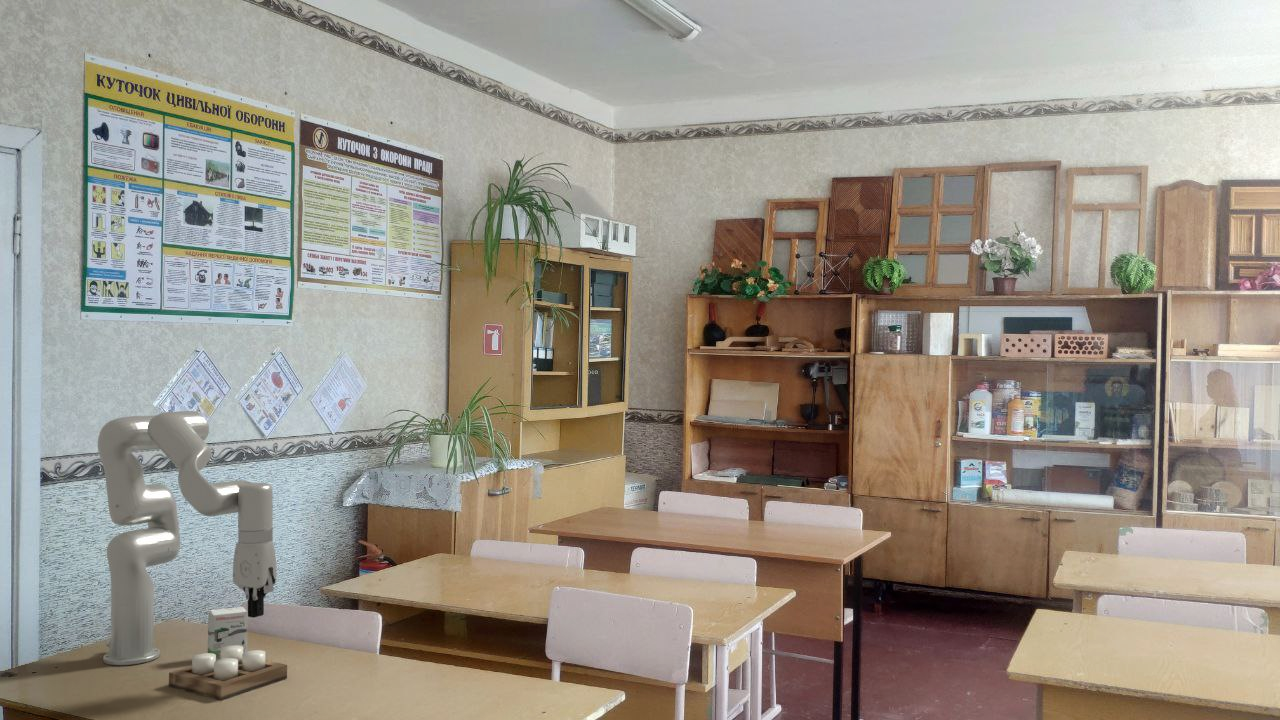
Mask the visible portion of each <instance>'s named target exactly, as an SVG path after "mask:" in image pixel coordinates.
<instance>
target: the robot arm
mask: <svg viewBox="0 0 1280 720" xmlns="http://www.w3.org/2000/svg"><path fill="white" fill-rule="evenodd" d="M209 434H210V425H209V422H208V420H207V419H206V418H205V415H203V414H202V413H199V412H197V411H194V410H181V411H178V410H177V411H166V412H161V413H158V414H156V415H153V414H152V415H138V416H137V415H135V416H134V415H133V416H123V417H118V418H115V419H112V420H110V421H108V422H106V423H105V424H104V425H103V426H102V428H101V429H100V431H99V434H98V438H97V451H98V454H99V458H100V461H101V463H102V467H103V471H104V477H105V486H106V487H105V488H106V496H107V504H108V510H109V511H108V512H109V516H110V520H111V521H112V522H113V523H114V524H115V525H117V526H125V527H126V526H135V525H140V524H147V525H148V527H147V528H139V529H134V530H133V529H132V530H129V531H124V532H121V533H118V534H117V535H115V536H114V537H112V539H111V540H110V541H109V542H108V544H107V548H106V558H107V564H108V567H109V574H110V639H109V640H106V641H105V642H104V643H105V644H104V645H105V647H108V649H109V651H108V652H107V653H106V654H104V655H103V658H102V661H103V663H105V664H107V665H111V666H112V665H113V666H131V665H132V666H133V665H138V664H143V663H147V662H151V661H154V660H156V659H158V658H159V657H160V655H161V650H160V649H159V648H156V647H154V617H155V615H154V614H155V613H154V612H155V607H154V606H155V602H154V601H155V587H154V582H153V579H152V578H151V576H150V574H149V573H148V571H147V568H149V567H152V566H153V567H154V566H157V565H162V564H166V563H169V562H171V561H173V560H175V559H176V558H177V557H178V555H179V552H180V549H181V534H180V525H179V517H178V509H177V508H178V506H177V503H176V502H177V501H176V498H175V496H174V494H173V492H172V490H171V489H170V488H169V487H167V485H164V484H160V483H152V484H146V483H145V482H146V481H145V477H144V469H143V467H142V464H141V463H140V461H139V460H138V458H137V457H136V456H135V455H134V453H132V452H135V451H144V450H154V449H155V450H156V449H158V450H159V449H160V450H161V452H162V453H163V454H164V455H165V456H166V458H167V459H169V460H170V462H172V463H173V464H174V466H175V467H176V468H177V469H178V473H177V474H178V476H177V481H178V486H179V490H180V493H181V495H182V497H183V498H184V499H185V501H187V502H188V503H189V505H190V506H191V507H192V508H193V509H194V510H195V511H197V512H198V513H199V514H201V515H203V516H205V517H218V516H223V515H224V516H225V515H230V514H231V515H232V514H237V531H238V532H237V538H238V539H237V542H236V545H235V549H234V553H233V562H232V564H233V565H232V583H233V584H234V585H235V586H237V588H238V589H240V590H241V591H243V592H244V593H245V600H247V618H257V617H258V618H259V617H262V616H264V615H265V609H264V608H265V604H264V603H265V601H264V599H266V595H267V594H268V593H272V592H274V585H276V584H277V583H276V582H277V558H276V551H275V550H276V549H275V544H274V542H273V541H274V537H273V536H274V532H273V530H274V529H273V526H274V524H273V523H274V522H273V519H274V518H273V513H274V512H273V502H274V501H273V496H274V495H273V487H272V485H271V484H270V483H268V482H251V481H248V480H231V481H220V482H214V483H210V481H208V480H207V479H206V478H205V477H204V476H203V475H202V474H201V472H200V471H201V470H202V469H204V468H205V467H206V465H207V464H208V463H209V462H210V460H211V458H212V453H213V451H212V448H211V447H210V445H209V444H208V443H207V442H206V439H207V438H208V435H209Z"/></svg>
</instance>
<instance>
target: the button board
mask: <svg viewBox="0 0 1280 720" xmlns="http://www.w3.org/2000/svg"><path fill="white" fill-rule="evenodd" d="M217 660H220V658H217V659H216V661H217ZM287 679H288V664H285V663H280V662H276V661H272V660H267V659H265V668H264V669H261V670H258V671H253V672H247V671H243V670H242V664H239V665H238V677H236V678H233V679H229V680H216V679H214V672H213V673H209V674H206V675H196V674H192V665H191V666H186V667H183V668H180V669H177V670H176V669H175V670H173V671H169V672H168V688H169V687H170V688H172V689H177V690H180V691H183V692H184V691H185V692H188V693H191V694H196V695H200V696H203V697H207V698H211V699H215V700H218V701H224V700H227V699H230V698H232V697H236V696H239V695H241V694H244V693H248V692H251V691H254V690H257V689H260V688H263V687H266V686H269V685H271V684H275V683H279V682H280V681H284V680H287Z"/></svg>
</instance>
